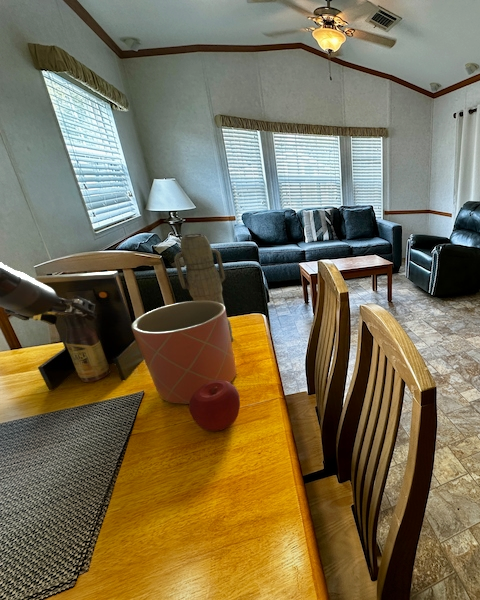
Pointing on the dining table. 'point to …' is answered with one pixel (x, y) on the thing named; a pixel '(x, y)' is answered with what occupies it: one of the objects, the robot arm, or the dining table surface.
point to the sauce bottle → (85, 349)
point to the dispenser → (94, 324)
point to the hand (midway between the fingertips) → (74, 319)
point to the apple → (215, 405)
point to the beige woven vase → (201, 270)
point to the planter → (185, 347)
